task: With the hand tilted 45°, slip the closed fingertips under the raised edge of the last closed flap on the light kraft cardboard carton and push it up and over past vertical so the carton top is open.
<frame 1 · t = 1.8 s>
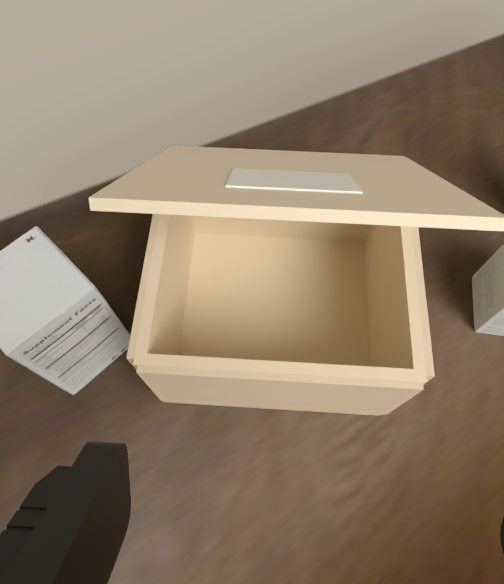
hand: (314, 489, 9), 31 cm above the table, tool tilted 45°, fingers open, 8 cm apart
top flap: (290, 175, 28), point 18 cm above the table, hinge at 40.0°
supplement box: (83, 344, 43), on the table
skincare box: (501, 309, 45), on the table
carton: (275, 314, 44), on the table
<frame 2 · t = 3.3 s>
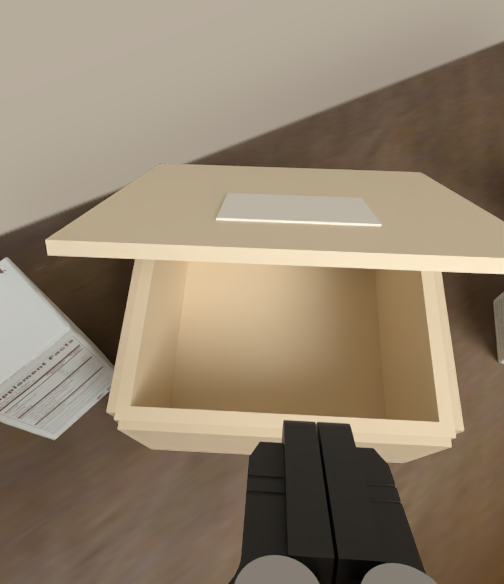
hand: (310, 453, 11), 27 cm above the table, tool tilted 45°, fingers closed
top flap: (293, 199, 25), point 18 cm above the table, hinge at 40.0°
supplement box: (66, 381, 39), on the table
carton: (278, 345, 40), on the table
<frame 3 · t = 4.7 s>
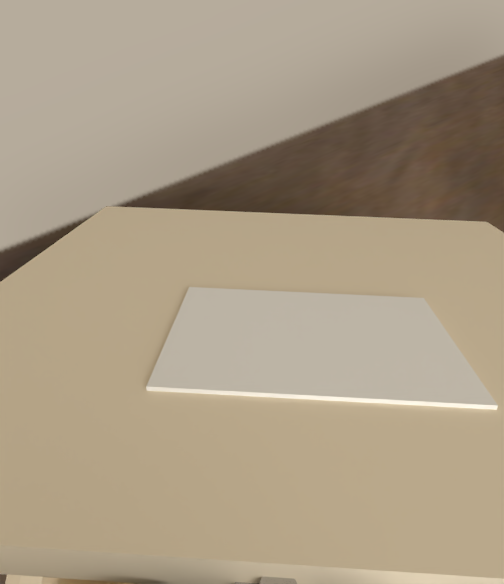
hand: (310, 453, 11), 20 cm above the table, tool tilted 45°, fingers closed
top flap: (303, 295, 14), point 18 cm above the table, hinge at 40.0°, touching gripper
carton: (277, 440, 30), on the table
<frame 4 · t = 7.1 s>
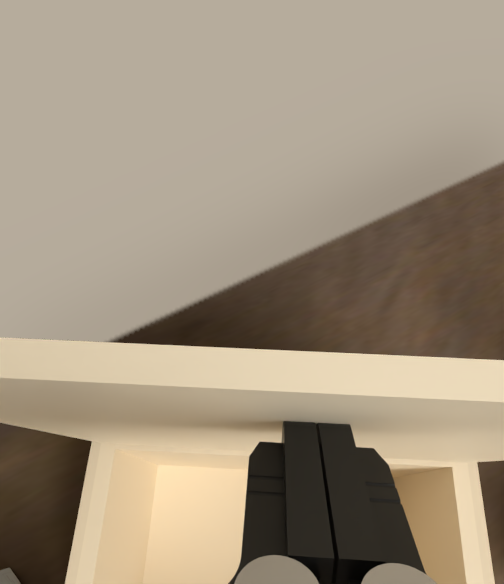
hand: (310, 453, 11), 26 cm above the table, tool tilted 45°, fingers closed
top flap: (295, 428, 15), point 22 cm above the table, hinge at 87.2°, touching gripper
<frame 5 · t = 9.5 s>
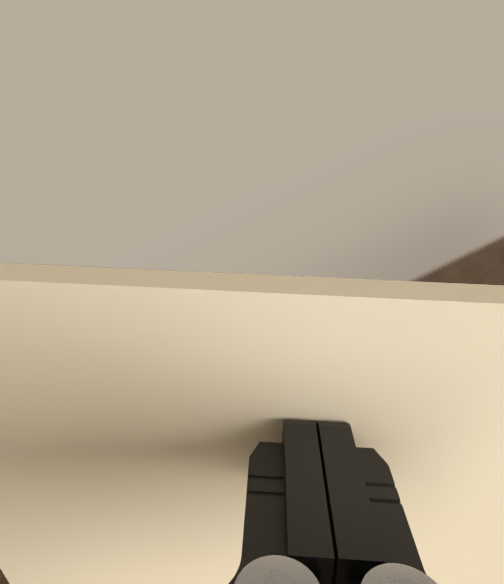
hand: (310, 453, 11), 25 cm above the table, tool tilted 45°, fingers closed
top flap: (290, 537, 14), point 21 cm above the table, hinge at 120.2°, touching gripper
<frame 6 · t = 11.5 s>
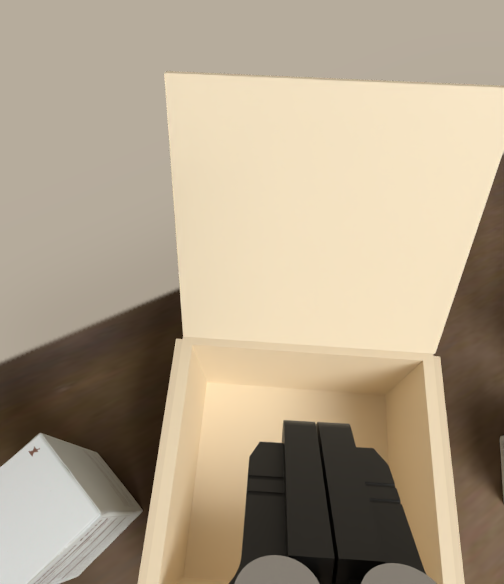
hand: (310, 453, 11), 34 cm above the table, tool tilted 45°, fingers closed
top flap: (321, 233, 29), point 21 cm above the table, hinge at 120.2°
supplement box: (89, 511, 41), on the table
carton: (291, 479, 42), on the table
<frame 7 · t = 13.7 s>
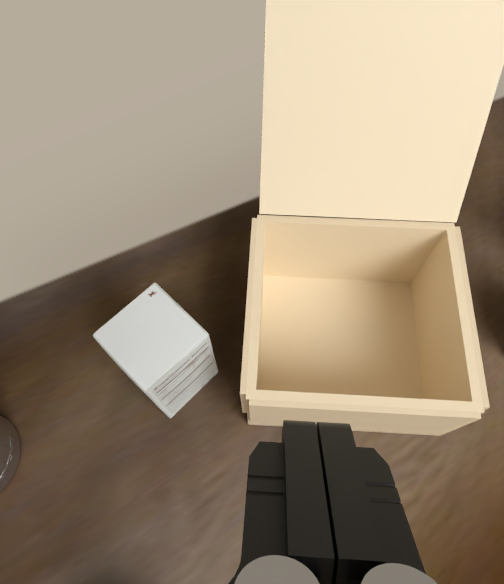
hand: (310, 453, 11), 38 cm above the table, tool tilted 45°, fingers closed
top flap: (372, 118, 39), point 21 cm above the table, hinge at 120.2°
supplement box: (174, 373, 50), on the table
carton: (337, 347, 51), on the table
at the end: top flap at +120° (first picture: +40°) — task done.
